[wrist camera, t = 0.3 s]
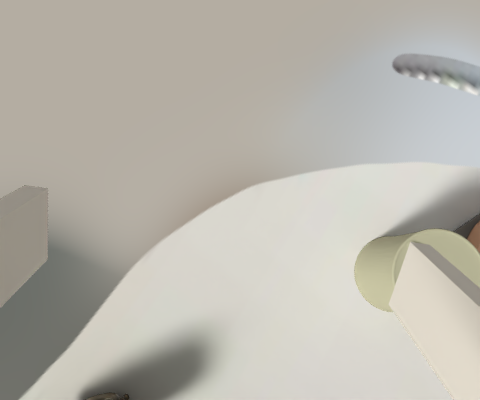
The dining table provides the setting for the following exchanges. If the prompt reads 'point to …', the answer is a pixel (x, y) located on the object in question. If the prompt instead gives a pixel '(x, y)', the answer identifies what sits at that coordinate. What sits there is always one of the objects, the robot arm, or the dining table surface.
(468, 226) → the mat
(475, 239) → the bowl
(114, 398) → the alarm clock
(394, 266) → the can
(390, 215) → the dining table surface
